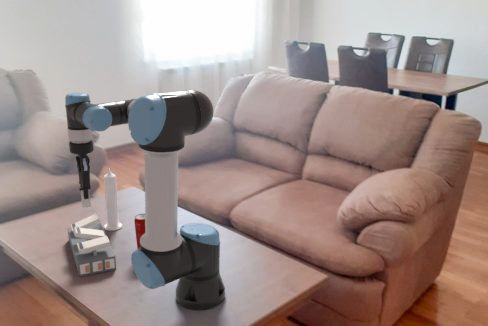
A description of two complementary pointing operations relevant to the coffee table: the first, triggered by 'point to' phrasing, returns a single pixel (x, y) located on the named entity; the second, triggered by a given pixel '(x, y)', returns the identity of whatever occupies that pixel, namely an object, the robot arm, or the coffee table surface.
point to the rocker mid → (88, 233)
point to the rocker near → (93, 244)
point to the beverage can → (139, 227)
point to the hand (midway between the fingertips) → (86, 206)
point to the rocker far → (86, 222)
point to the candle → (111, 202)
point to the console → (91, 255)
